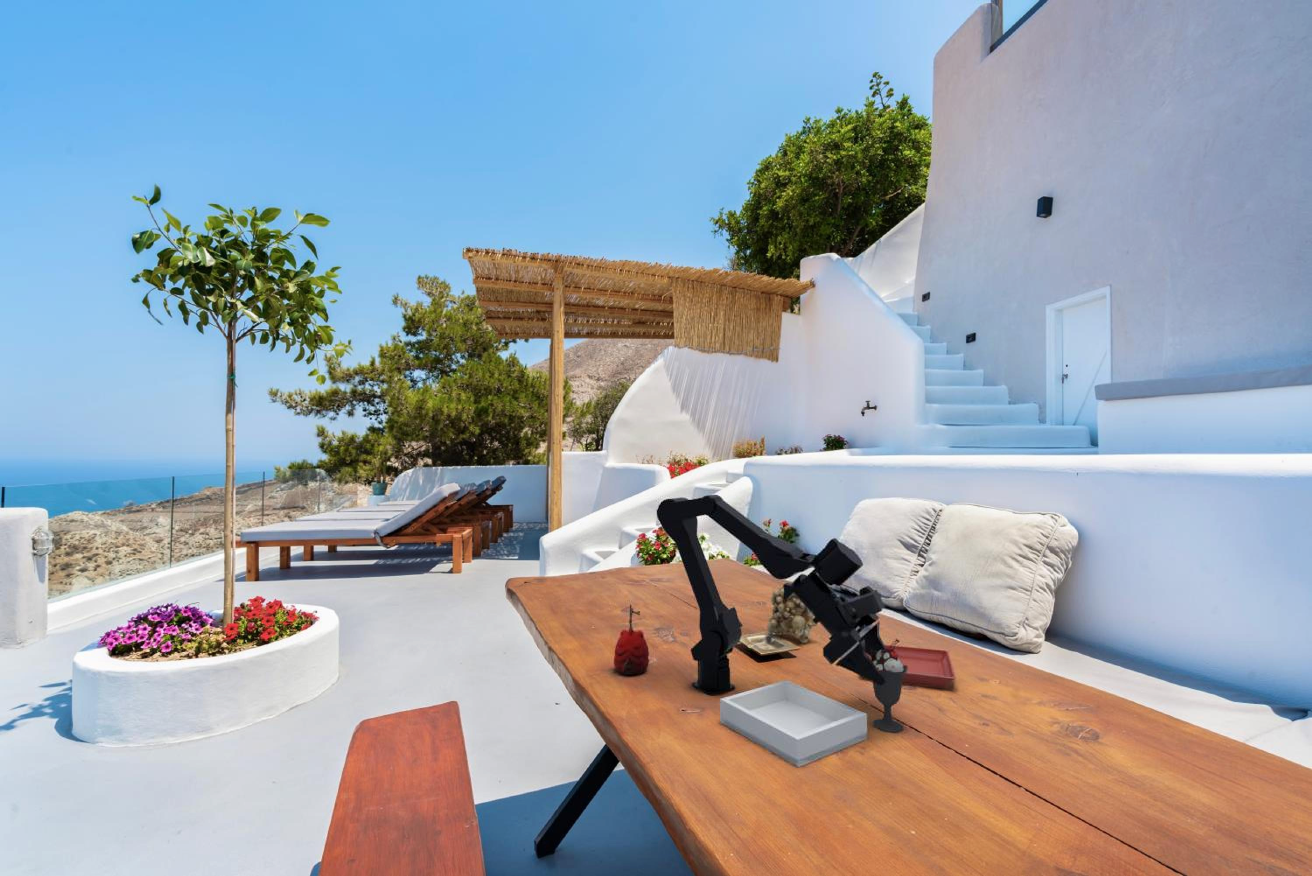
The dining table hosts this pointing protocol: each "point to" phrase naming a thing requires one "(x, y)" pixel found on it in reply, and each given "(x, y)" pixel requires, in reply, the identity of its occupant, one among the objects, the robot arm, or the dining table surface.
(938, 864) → the dining table surface
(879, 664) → the sundae
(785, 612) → the mineral formation
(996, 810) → the dining table surface
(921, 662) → the plant saucer
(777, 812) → the dining table surface
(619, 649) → the red fruit with stem
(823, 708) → the tray
